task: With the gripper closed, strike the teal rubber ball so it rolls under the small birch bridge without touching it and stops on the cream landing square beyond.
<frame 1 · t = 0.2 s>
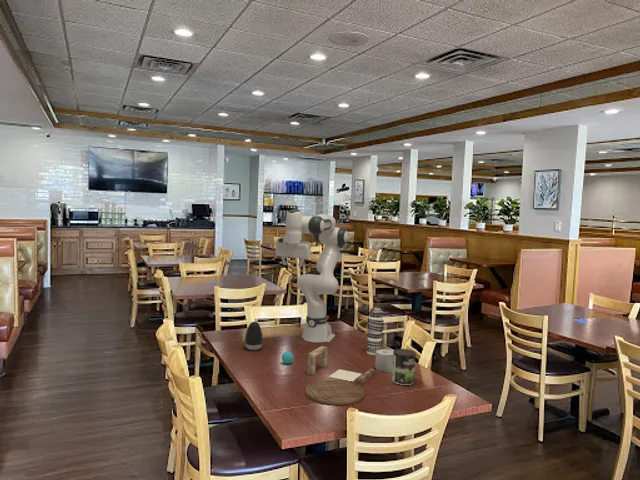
hand: (292, 265, 256), 47 cm above the table, tool pointing down, fingers open, 8 cm apart
bridge: (317, 369, 234), on the table
leaning tower model: (374, 353, 266), on the table
coffee can: (402, 382, 222), on the table
trivet: (334, 395, 205), on the table
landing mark: (345, 375, 228), on the table
speaker: (253, 349, 264), on the table
ball: (287, 357, 241), on the table
toilet tissue: (386, 370, 238), on the table
stopper wall: (365, 379, 223), on the table
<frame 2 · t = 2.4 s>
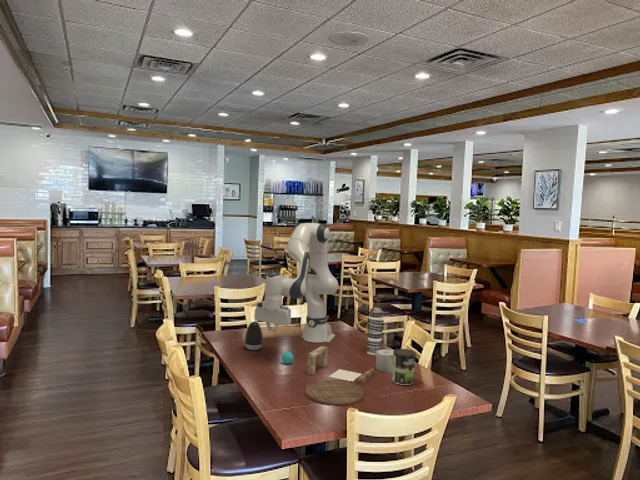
hand: (272, 331, 245), 15 cm above the table, tool pointing down, fingers closed
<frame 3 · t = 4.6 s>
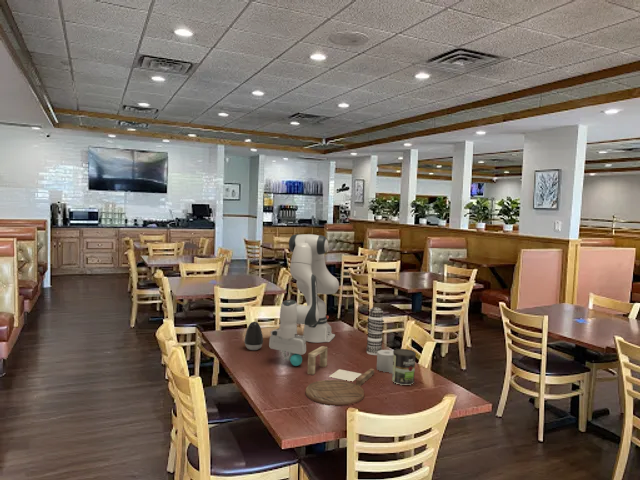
hand: (286, 360, 241), 2 cm above the table, tool pointing down, fingers closed
ball: (296, 359, 239), on the table
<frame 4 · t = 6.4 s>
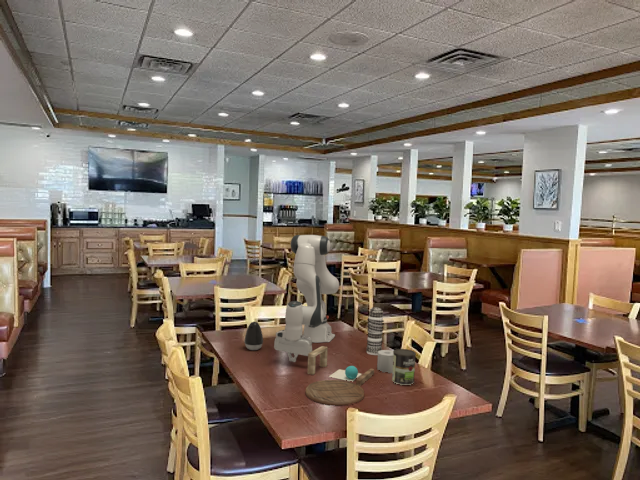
hand: (292, 361, 240), 2 cm above the table, tool pointing down, fingers closed
ball: (351, 372, 223), on the table
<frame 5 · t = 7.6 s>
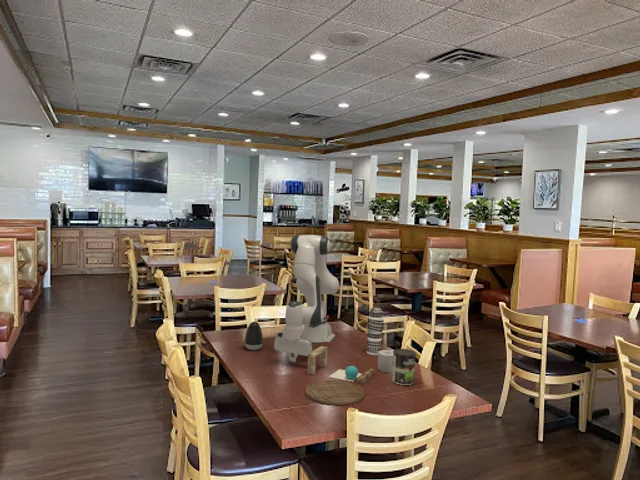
hand: (292, 361, 240), 2 cm above the table, tool pointing down, fingers closed
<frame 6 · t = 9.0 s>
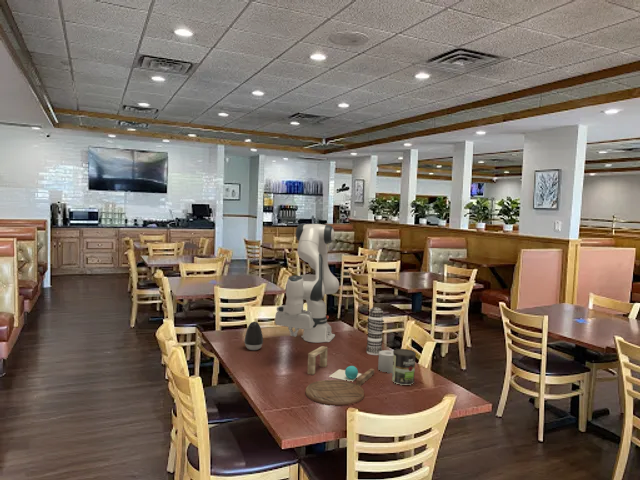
hand: (293, 336, 240), 15 cm above the table, tool pointing down, fingers closed
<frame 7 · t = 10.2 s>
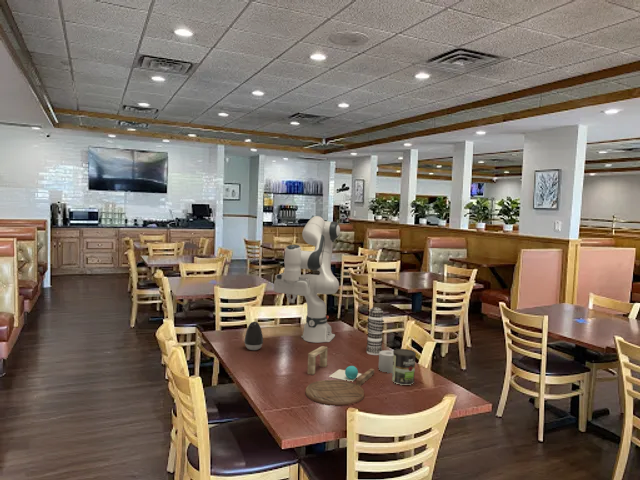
hand: (291, 302, 249), 29 cm above the table, tool pointing down, fingers closed
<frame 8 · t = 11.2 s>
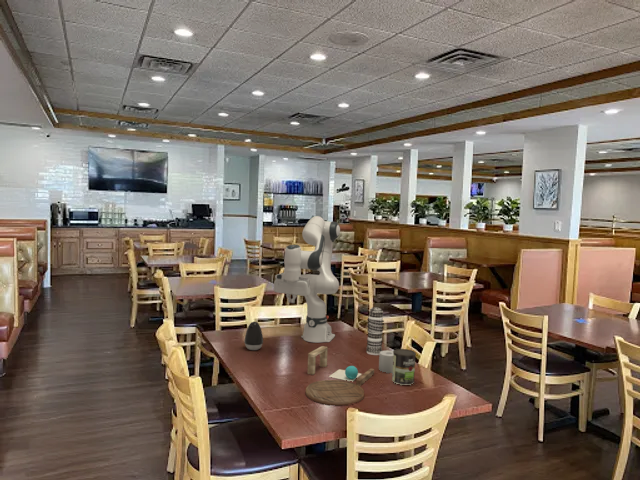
hand: (291, 302, 249), 29 cm above the table, tool pointing down, fingers closed
at the end: ball 4.6 cm from the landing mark (horizontally); ball never touched bridge; ball at rest at the end (0.0 cm/s) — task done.
